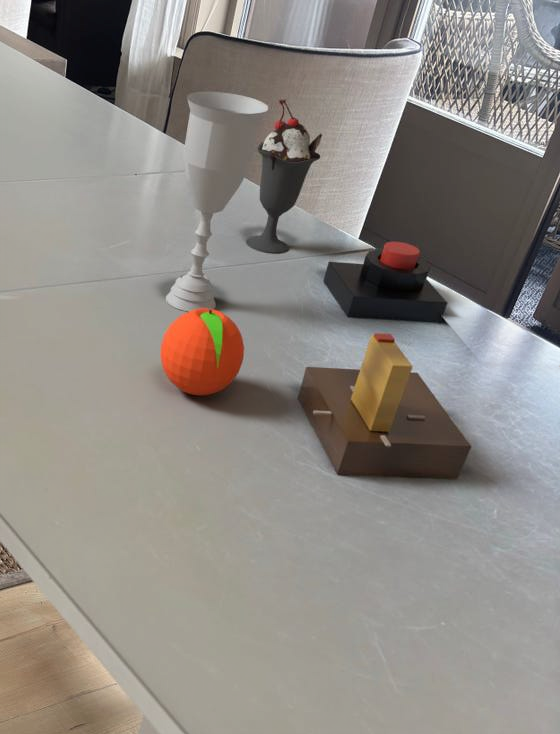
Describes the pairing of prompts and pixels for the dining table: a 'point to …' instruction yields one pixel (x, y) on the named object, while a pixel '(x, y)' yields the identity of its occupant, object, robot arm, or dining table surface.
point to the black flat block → (384, 290)
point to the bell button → (400, 255)
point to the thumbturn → (381, 382)
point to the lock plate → (376, 448)
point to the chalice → (214, 175)
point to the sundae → (282, 176)
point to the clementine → (202, 351)
